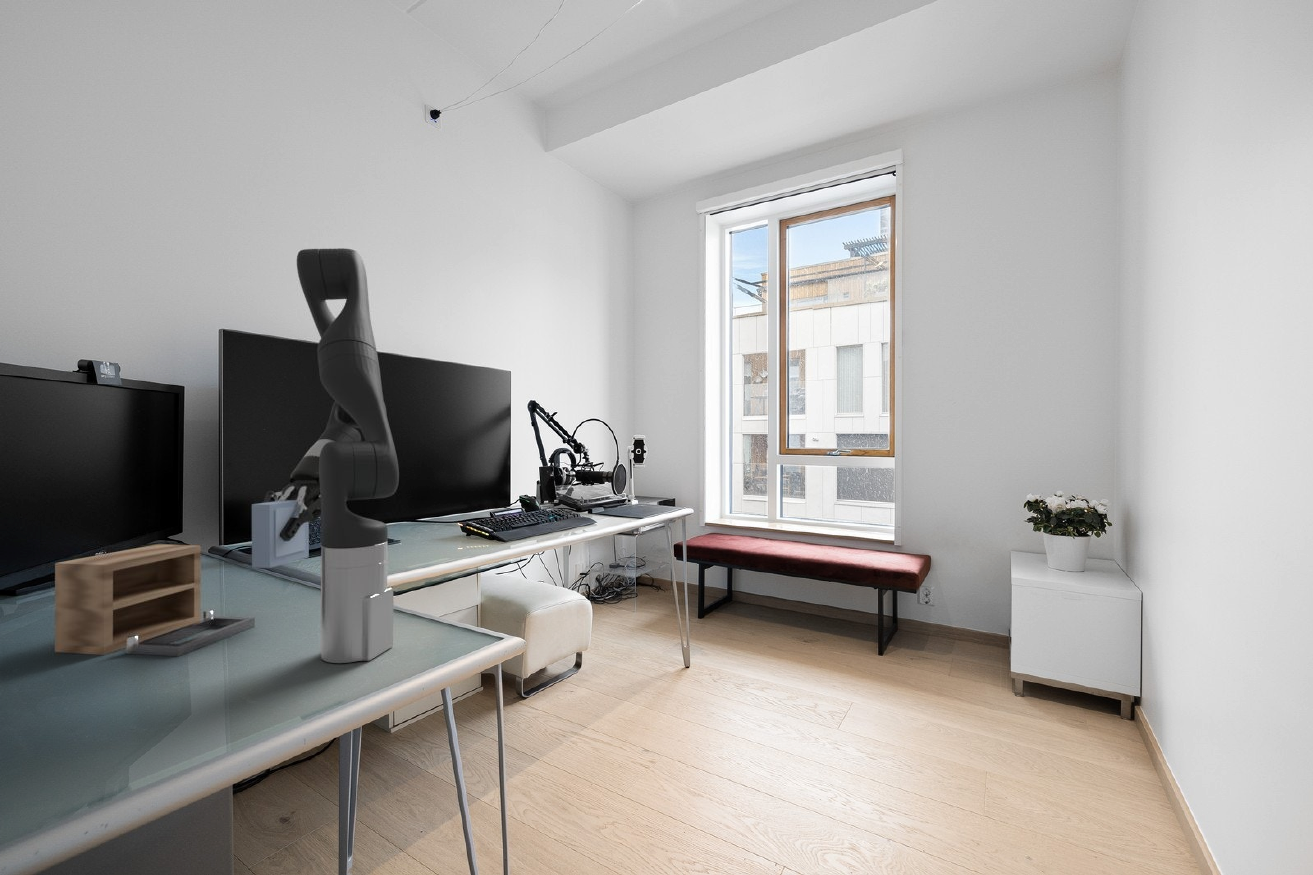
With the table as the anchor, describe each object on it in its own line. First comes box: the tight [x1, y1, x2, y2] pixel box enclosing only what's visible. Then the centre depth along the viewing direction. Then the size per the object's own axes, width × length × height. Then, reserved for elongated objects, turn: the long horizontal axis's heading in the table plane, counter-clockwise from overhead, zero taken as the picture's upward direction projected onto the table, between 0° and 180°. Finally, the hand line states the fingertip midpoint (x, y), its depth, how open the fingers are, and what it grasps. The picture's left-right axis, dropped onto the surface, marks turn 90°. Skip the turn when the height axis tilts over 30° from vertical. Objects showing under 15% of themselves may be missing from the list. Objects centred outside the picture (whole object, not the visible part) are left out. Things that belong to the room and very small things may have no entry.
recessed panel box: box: [251, 500, 310, 569], centre depth 102 cm, size 4×9×11 cm, turn 172°
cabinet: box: [54, 543, 202, 656], centre depth 96 cm, size 9×16×14 cm, turn 173°
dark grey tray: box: [125, 609, 256, 657], centre depth 94 cm, size 10×14×2 cm, turn 173°
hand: (273, 538), depth 100 cm, fingers closed on recessed panel box, 3 cm apart
